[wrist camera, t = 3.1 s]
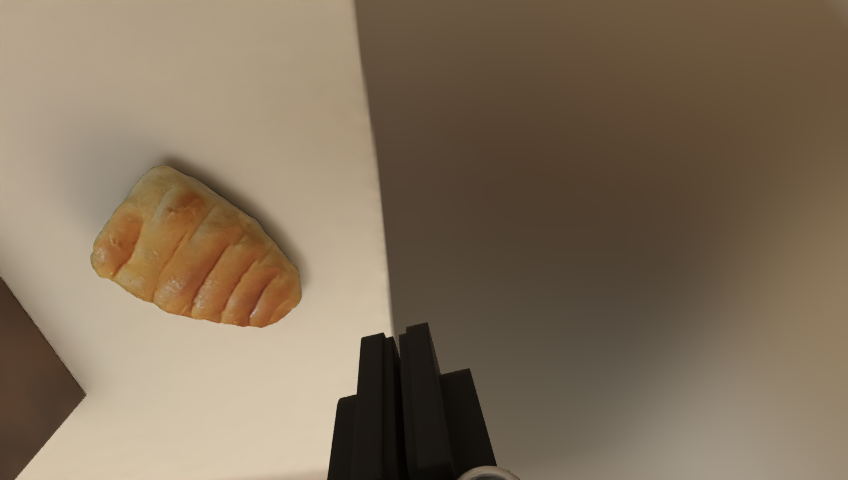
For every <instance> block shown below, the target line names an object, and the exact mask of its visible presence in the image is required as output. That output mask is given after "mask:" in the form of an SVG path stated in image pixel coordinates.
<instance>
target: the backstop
mask: <svg viewBox="0 0 848 480" xmlns="http://www.w3.org/2000/svg"><path fill="white" fill-rule="evenodd" d="M85 396H86V395H85V394H84V392H83V391H82V389H81V388H80V387H79V385H78V384H77V383H76V381H75V380H74V378H73V377H72V376H71V374H70V373H69V372H68V370H67V369H66V367H65V366H64V365H63V363H62V362H61V361H60V359H59V358H58V356H57V355H56V354H55V352H54V351H53V350H52V348H51V347H50V345H49V344H48V343H47V341H46V340H45V339H44V337H43V336H42V334H41V333H40V332H39V330H38V329H37V328H36V326H35V325H34V323H33V322H32V321H31V319H30V318H29V317H28V315H27V314H26V312H25V311H24V310H23V308H22V307H21V305H20V304H19V303H18V301H17V300H16V299H15V297H14V296H13V294H12V293H11V292H10V290H9V289H8V288H7V286H6V285H5V283H4V282H3V281H2V279H1V278H0V480H15V479H16V478H17V476H18V475H19V474H20V473H21V472H22V470H23V469H24V468H25V467H26V466H27V465H28V463H29V462H30V461H31V460H32V459H33V458H34V456H35V455H36V454H37V453H38V452H39V450H40V449H41V448H42V447H43V446H44V445H45V443H46V442H47V441H48V440H49V439H50V438H51V436H52V435H53V434H54V433H55V432H56V430H57V429H58V428H59V427H60V426H61V425H62V423H63V422H64V421H65V420H66V419H67V418H68V416H69V415H70V414H71V413H72V412H73V410H74V409H75V408H76V407H77V406H78V405H79V403H80V402H81V401H82V400H83V399H84V398H85Z"/></svg>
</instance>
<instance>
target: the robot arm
mask: <svg viewBox="0 0 848 480" xmlns="http://www.w3.org/2000/svg"><path fill="white" fill-rule="evenodd" d="M406 332H407V333H405V334H401V335H399V345H400V357H399V354H398V351H397V347H396V344H395V340H394V338H393V336H392V337H388V338H386V337H385V334H384V333H379V334H375V335H371V336H366V337H362V338H361V347H360V360H359V372H358V385H357V394H356V395H352V396H348V397H343V398H340V399H339V401H338V404H337V410H336V418H335V425H334V433H333V440H332V448H331V455H330V463H329V470H328V478H327V480H520V479H519V478H518V477H517V476H515V475H514V474H513V473H511V472H510V471H508V470H506V469H503V468H500V467H497V464H496V461H495V457H494V454H493V450H492V447H491V443H490V439H489V436H488V432H487V429H486V425H485V421H484V418H483V415H482V411H481V407H480V404H479V400H478V396H477V393H476V389H475V386H474V382H473V379H472V376H471V372H470V369H464V370H460V371H455V372H451V373H447V374H442V375H441V373H440V369H439V365H438V361H437V357H436V354H435V350H434V346H433V342H432V338H431V334H430V330H429V326H428V323H422V324H418V325H414V326H410V327H406Z"/></svg>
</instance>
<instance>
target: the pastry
mask: <svg viewBox="0 0 848 480" xmlns="http://www.w3.org/2000/svg"><path fill="white" fill-rule="evenodd" d="M91 264H92V267H93V269H94V270H95V271H96V273H97V274H98V275H99V276H100V277H102V278H108V279H110V280H112V281H114V282H115V283H117V284H118V285H119V286H121V287H122V288H123V289H125V290H126V291H128V292H129V293H131V294H132V295H134V296H135V297H137V298H140V299H142V300H144V301H147V302H150V303H154V304H155V305H157V306H158V307H159V308H160V309H162V310H163V311H166V312H168V313H172V314H176V315H182V316H186V317H190V318H193V319H199V320H203V319H205V320H209V321H212V322H216V323H224V324H233V325H237V326H241V327H245V326H253V327H259V328H262V327H265V326H268V325H271V324H273V323H276V322H278V321H279V320H280V319H281V318H283V317H285V316H286V315H287V314H288V313H289V312H290V311H291V310H292V309H293V308H294V307H296V306H297V305H298V304H299V302H300V300H301V297H302V292H301V285H300V277H299V272H298V269H297V267H296V266H295V265H294V264H292V263H291V262H290V261H289V259H288V258H287V256H286V255H285V254H284V253H282V252H281V251H280V250H279V248H278V246H277V244H276V243H275V242H274V241H273V240H272V239H271V238H270V237H269V236H268V235H267V234H266V233H265V232H264V231H263V229H262V227H261V226H260V224H259V223H258V221H257V220H256V219H254V218H252V217H249V216H247V215H246V214H245V213H243V212H242V211H241V210H240V209H239V208H238V207H236V206H234V205H233V204H231V203H230V202H229V201H228V200H226V199H225V198H224V197H221V196H219V195H218V194H217V193H215V192H214V191H212V190H210V189H209V188H208V187H207V186H206V185H204V184H203V183H201V182H200V181H198V180H197V179H195V178H193V177H190V176H187V175H183V174H182V173H181V172H179V171H177V170H175V169H173V168H171V167H168V166H157V167H153V168H152V169H150V170H149V171H148V172H147V173H146V174H145V175H144V176H143V177H141V178H140V180H139V181H138V182H137V184H136V185H135V186H134V187H133V189H132V191H131V193H130V195H129V196H128V197H127V198H126V200H125V201H124V202H123V203H122V204H121V205H120V206H119V207H118V208H117V209H116V211H115V212H114V214H113V215H112V217H111V219H110V220H109V221H108V222H107V223H106V225H105V226H104V228H103V230H102V231H101V232H100V234H99V235H98V236H97V238H96V240H95V242H94V246H93V252H92V254H91Z"/></svg>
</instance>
